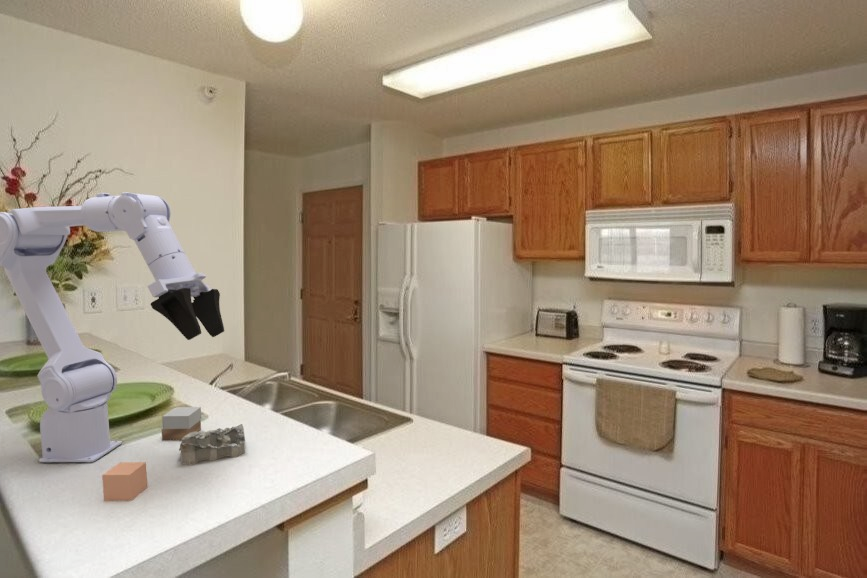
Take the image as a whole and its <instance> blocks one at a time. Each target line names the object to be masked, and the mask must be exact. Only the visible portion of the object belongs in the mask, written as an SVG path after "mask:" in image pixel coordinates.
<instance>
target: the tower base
mask: <svg viewBox="0 0 867 578" xmlns="http://www.w3.org/2000/svg"><path fill="white" fill-rule="evenodd" d="M201 421H202V419H201V420H200V421H199V422H197V423H196V424H195V425H194V426H192V427H191V428H190V429H163V428H161V440H162V441H181V440H182V438H183V437H184V436H186V435H187V434H189V433H191V432H195V431H196V432H202V423H201Z"/></svg>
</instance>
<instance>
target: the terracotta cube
mask: <svg viewBox="0 0 867 578" xmlns="http://www.w3.org/2000/svg"><path fill="white" fill-rule="evenodd" d="M147 473H148V472H147V462H145V461H144V462H141V461H138V462H135V461H134V462H133V461H132V462H123V461H122V462H118V463H117V464H115V465H114V466H113V467H112V468H110V469H108V470H107V471H105V472H104V473H103V474H101V478H102V489H103V501H104V502H105V501H106V502H107V501H108V502H109V501H112V502H113V501H117V502H118V500H120V501H122V500H124V501H125V502H126V500H127V501H133V500H134V499H135V498H136V497H138V496H139V494H141V493H142V492H143V491H144V490H146V489H147V488H148V474H147ZM120 501H119V502H120ZM122 502H123V501H122Z"/></svg>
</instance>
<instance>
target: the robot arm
mask: <svg viewBox="0 0 867 578" xmlns="http://www.w3.org/2000/svg"><path fill="white" fill-rule="evenodd" d="M170 220H171V208H170V205H169V203H168V202H167V201H166V199H164V198H163V197H161V196H157V195H153V194H142V193H135V192H127V191H122V192H121V194H120V195H111V193H108V192H107V193H106V192H98V193H96V196H94V197H93V196H92V197H89V198H87V199H86V200H85V201H83V203H82V205H69V206H68V205H66V206H64V205H62V206H34V207H24V208H14V209H10V210H8V212H5V211H0V267H2V268H3V270H4V273H5V275H6V277H7V279H8V281H9V283H10V286H11V287H12V289H13V291H14V293H15V295H16V297H17V299H18V301H19V303H20V305H21V307H22V309H23V311H24V313H25V316H26V318H27V319H28V321H29V323H30V326H31V327H32V329H33V331H34V333H35V335H36V337H37V340H38V341H39V343H40V345H41V347H42V349H43V351H44V353H45V355H46V357H47V361H46V362H45V364H44V365H43V366H42V368H41V369H40V370H39V372H38V374H37V376H36V377H37V378H38V381H39V383H40V387H41V388H40V389H41V396H42V398H43V401H44V403H46V405H47V406H48V408H47V409H45V411H44V412H43V413H42V416H41V419H40V422H39V430H40V431H39V433H40V434H39V435H40V442H41V443H40V444H41V453H42V456H41V457H40V458H39V459H38V462H39V463H93V462H96V461H97V460H98V459H101V458H102V457H103V456H104V455H106V454H108V453H109V452H111V451H112V450H113V449H116V448H117V447H119V446H120V445H121V444H122V443H123V441H122V440H111V436H110V422H109V412H108V411H109V410H108V401H109V400H111V398H112V396H111V394H112V393H114V392H115V390H116V388H117V385H118V376H117V373H116V371H115V369H114V367H113V366H112V365H110V363H108V362H107V361H106V360H105V357H104V356H103V354H102V353H101V352H99V351H96V350H94V349H90V348H89V347H86V346H85V345H84V344H83V342H82V339H81V338H80V336H79V334H78V331H77V330H76V328H75V326H74V324H73V321H71V317H70V316H69V314H68V312H67V310H66V308H65V306H64V305H63V303H62V300H61V298H60V296H59V294H58V292H57V290H56V289H55V287H54V285H53V283H52V281H51V279H50V276H49V275H48V272H47V268H48V267H49V266H51V265H53V264H54V263H55V262H56V261H57V258H58V257H59V255H60V253H61V251H62V249H63V247H64V246H65V243H66V240H67V239H68V236H69V235H71V228H70V227H78V226H79V227H80V226H85V227H87V228H88V229H89V230H91V231H93V232H96V233H106V232H107V233H108V232H126V234H127V235H128V238H129V239H131V240H132V241H134V242H135V245H136V247H137V248H138V251H139V252H140V254H141V256H142V258H143V259H144V261H145V263H146V265H147V268H148V270H149V271H150V273H151V275H152V277H153V279H154V280H155V281H154V282H152V283H150V284H148V285H147V289H148V290H149V292H150V294H151V296H152V298H157V299H155V300H154V301H152V302H151V303H150V306H151V308H152V310H154V311H156V312H157V313H160V314H161V316H163V317H164V318H166V319H167V320H168V321H169V322H170V323H171V324H172V325H173V326H174V327H175V329H177V330H178V331H179V332H180V334H182V336H183V337H184V338H185V339H186V340H187V341H191V340H192V339H194V338H196V337H198V336H199V335H201V334H202V329H201V325H200V323H201V324H202V326H203V327H204V329H205V330H206V333H208V334H209V336H211V337H212V338H216V336H218V335H220V334H223V333H225V326H224V323H223V318H222V315H221V308H220V307H221V306H220V297H221V293H220V291H219V289H217V288H212V289H211V288H210V286H209V284H207V283H205V282H204V281H203V280H204V279H206V277H207V275H206V274H205V273H204V272H197V273H196V271H195V269H194V267H193V265H192V263H191V261H190V259H189V257H188V256H187V254H186V252H185V250H184V248H183V246H182V245H181V242H180V240H179V239H178V237H177V235H176V233H175V231H174V229H173V228H172V225H171V224H170ZM192 298H193V299H192ZM192 301H193V302H192ZM199 322H200V323H199Z"/></svg>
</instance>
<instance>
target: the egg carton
mask: <svg viewBox="0 0 867 578" xmlns="http://www.w3.org/2000/svg"><path fill="white" fill-rule="evenodd" d="M244 429H245V428H244V426H243V423H240V424H239V425H237V426H232V427H231V428H230V427H226V428H224V429H222V428H221V427H219V428H217V429H214V430H207V431H199V432H196V431H195V432H191V433H189V434H187V435H186V436H184V437H183V438H182V440H180V443H179V449H178V451H180V459H181V460H180V461H181V462H180V463H181V464H186V465H195V464H197V463H198V462H200V461H205V460H208V461H210V462H213V461H217V460H219V459H220V458H223V457H231V458H235V457H236V458H237V457H239V456H240V455H242V454H243V453H245V452H246V450H245V443H246V437H245V430H244ZM232 443H233V444H234V443H236V444H234V445H233V444H232ZM214 446H215V447H214Z"/></svg>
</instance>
